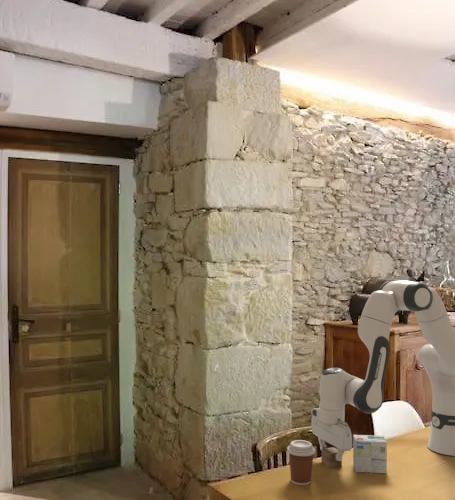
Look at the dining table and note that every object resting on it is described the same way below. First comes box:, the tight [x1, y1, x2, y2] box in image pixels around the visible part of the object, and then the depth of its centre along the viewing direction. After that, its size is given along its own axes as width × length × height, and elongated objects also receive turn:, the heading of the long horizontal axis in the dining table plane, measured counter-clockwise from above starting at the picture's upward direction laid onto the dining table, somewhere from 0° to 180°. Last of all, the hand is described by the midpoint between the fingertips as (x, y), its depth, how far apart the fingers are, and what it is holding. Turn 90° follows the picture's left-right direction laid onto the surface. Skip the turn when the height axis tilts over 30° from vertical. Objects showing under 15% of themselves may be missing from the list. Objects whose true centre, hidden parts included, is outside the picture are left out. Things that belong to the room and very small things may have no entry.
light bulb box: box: [352, 434, 388, 474], centre depth 181 cm, size 11×7×11 cm, turn 84°
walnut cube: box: [320, 446, 343, 469], centre depth 184 cm, size 5×5×5 cm
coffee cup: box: [286, 439, 317, 486], centre depth 170 cm, size 9×9×12 cm
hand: (330, 455), depth 184 cm, fingers open, 8 cm apart
